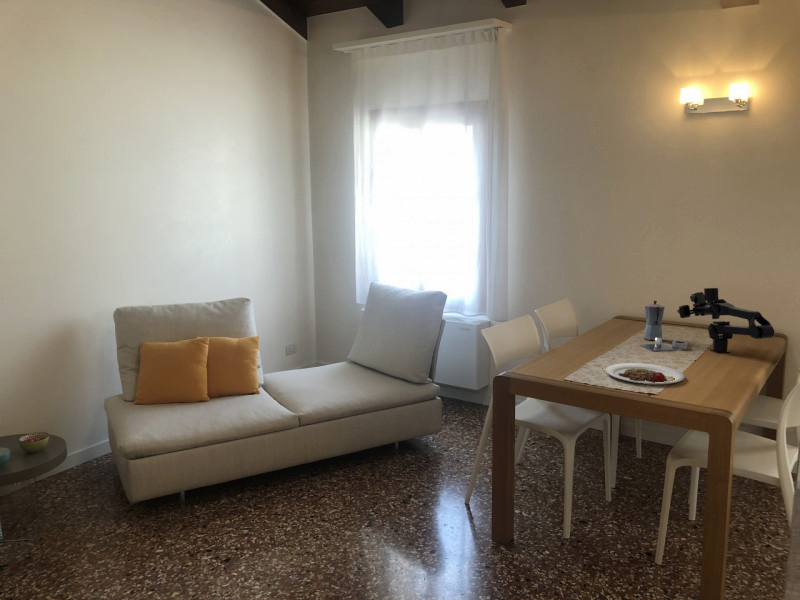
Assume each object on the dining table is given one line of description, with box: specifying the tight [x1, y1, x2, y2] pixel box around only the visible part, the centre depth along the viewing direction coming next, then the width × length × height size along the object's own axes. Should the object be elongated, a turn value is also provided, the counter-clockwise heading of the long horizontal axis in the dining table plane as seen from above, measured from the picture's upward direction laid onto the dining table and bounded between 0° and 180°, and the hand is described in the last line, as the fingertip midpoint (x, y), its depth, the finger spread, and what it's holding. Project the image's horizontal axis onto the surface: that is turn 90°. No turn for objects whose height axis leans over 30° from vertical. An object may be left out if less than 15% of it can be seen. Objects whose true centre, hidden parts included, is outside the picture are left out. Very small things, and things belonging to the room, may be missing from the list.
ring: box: [671, 340, 688, 351], centre depth 308 cm, size 6×6×3 cm
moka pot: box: [643, 300, 665, 341], centre depth 326 cm, size 10×15×20 cm, turn 174°
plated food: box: [605, 362, 685, 385], centre depth 260 cm, size 30×30×3 cm
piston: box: [639, 337, 678, 352], centre depth 309 cm, size 12×12×5 cm
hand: (685, 310), depth 323 cm, fingers open, 9 cm apart
